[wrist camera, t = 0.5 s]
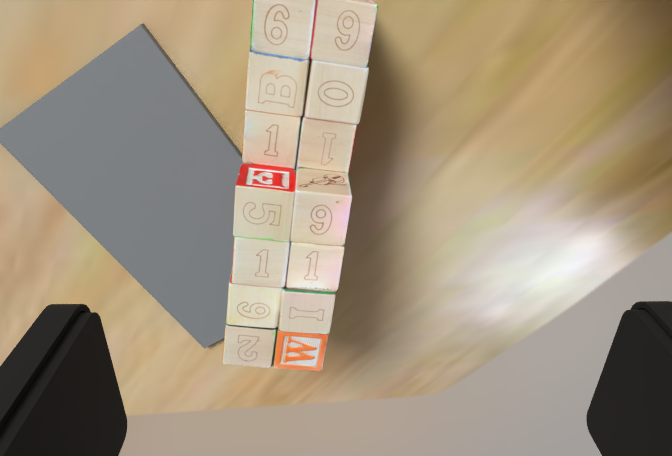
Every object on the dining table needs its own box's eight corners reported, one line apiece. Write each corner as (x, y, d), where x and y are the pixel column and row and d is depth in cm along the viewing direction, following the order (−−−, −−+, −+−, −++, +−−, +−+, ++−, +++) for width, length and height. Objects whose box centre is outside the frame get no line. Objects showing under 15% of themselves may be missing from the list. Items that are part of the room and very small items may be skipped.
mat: (143, 23, 34) (140, 24, 33) (334, 277, 44) (334, 281, 43) (-4, 131, 37) (-8, 134, 37) (205, 343, 47) (204, 348, 47)
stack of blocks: (266, -25, 32) (248, -17, 21) (363, -8, 33) (393, 8, 22) (241, 261, 42) (220, 368, 31) (317, 269, 43) (322, 376, 32)
